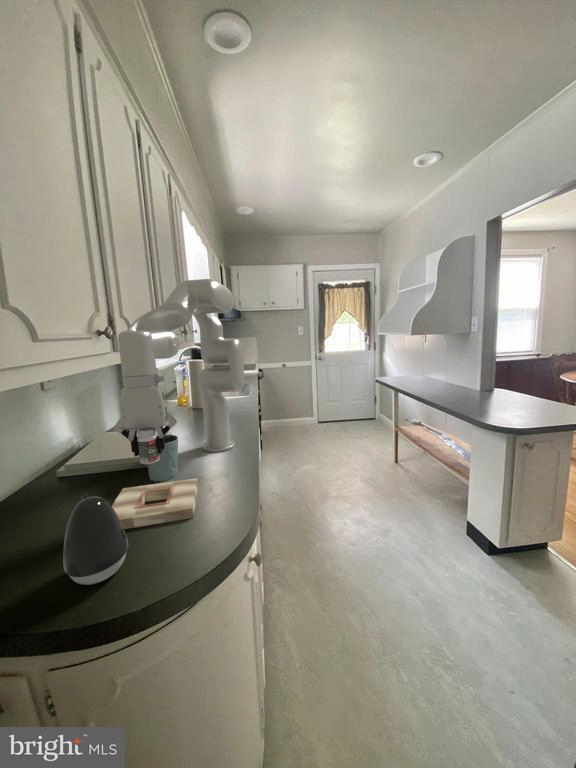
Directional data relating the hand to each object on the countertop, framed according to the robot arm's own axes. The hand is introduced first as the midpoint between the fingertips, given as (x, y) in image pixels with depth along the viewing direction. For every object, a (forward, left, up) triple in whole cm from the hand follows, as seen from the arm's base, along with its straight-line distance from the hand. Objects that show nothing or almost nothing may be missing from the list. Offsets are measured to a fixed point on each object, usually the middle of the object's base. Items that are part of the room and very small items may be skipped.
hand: (149, 452), depth 76 cm
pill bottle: (0, 0, -2) cm, 2 cm away
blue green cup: (-19, -1, -15) cm, 25 cm away
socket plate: (0, 0, -15) cm, 15 cm away
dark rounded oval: (+21, -6, -15) cm, 27 cm away
